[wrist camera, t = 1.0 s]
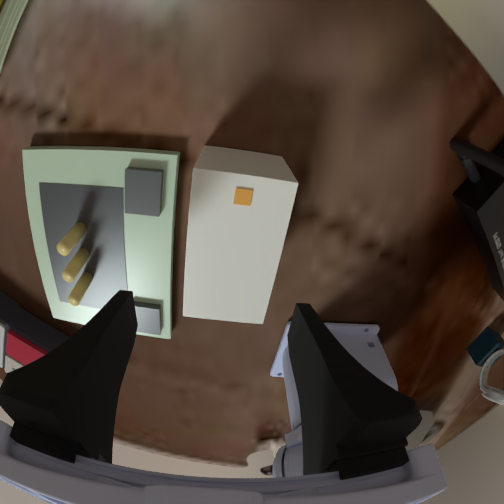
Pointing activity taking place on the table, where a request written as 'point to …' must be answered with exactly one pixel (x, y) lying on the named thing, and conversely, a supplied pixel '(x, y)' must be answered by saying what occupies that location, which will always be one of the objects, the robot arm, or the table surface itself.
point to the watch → (488, 360)
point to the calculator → (24, 335)
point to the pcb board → (104, 229)
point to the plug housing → (235, 233)
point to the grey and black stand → (484, 204)
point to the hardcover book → (9, 23)
